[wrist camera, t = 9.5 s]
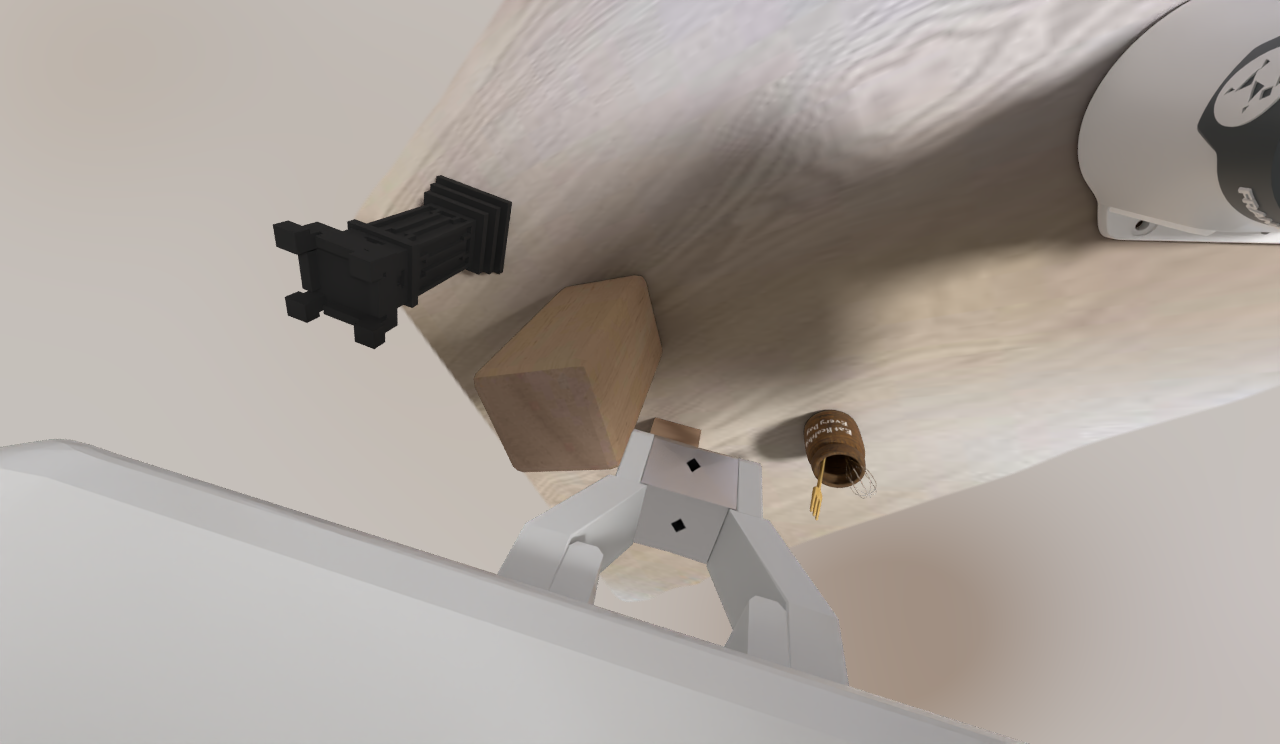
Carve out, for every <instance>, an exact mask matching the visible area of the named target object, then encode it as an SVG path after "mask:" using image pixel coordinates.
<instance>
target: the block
mask: <svg viewBox="0 0 1280 744" xmlns="http://www.w3.org/2000/svg"><path fill="white" fill-rule="evenodd" d="M661 355H662V346H661V342H660V338H659V334H658V330H657V326H656V322H655V317H654V313H653V309H652V305H651V301H650V297H649V293H648V288H647V284H646V282H645V280H644V279H643V277H642V276H636V275H633V276H627V277H622V278H616V279H610V280H604V281H598V282H593V283H587V284H581V285H575V286H569V287H565V288H564V289H562V290H561V291H560V292H559V293H558V294H557V295H556V296H555V297H554V298H553V299H552V300H551V301H550V302H549V303H548V304H547V305H546V306H545V307H544V308H543V309H542V310H540V311H539V312H538V313H537V314H536V315H535V316H534V317H533V318H532V319H531V320H530V321H529V322H528V323H527V324H526V325H525V326H524V327H523V328H522V329H521V330H520V331H519V332H518V333H517V334H516V335H515V336H514V337H513V338H512V339H511V340H510V341H509V342H508V343H507V344H506V345H505V346H504V347H503V348H501V349H500V350H499V351H498V352H497V353H496V354H495V355H494V356H493V357H492V358H491V359H490V360H489V361H488V362H487V363H486V364H485V365H484V366H483V367H482V368H481V369H480V370H479V371H478V372H477V373H476V374H475V377H474V384H475V388H476V390H477V392H478V394H479V396H480V398H481V400H482V403H483V405H484V407H485V409H486V411H487V413H488V415H489V417H490V419H491V421H492V423H493V426H494V428H495V430H496V432H497V434H498V436H499V438H500V440H501V442H502V444H503V446H504V449H505V451H506V453H507V455H508V457H509V459H510V461H511V463H512V465H513V467H514V468H516V469H517V470H518V471H521V472H543V471H573V470H602V469H613V468H615V467H618V466H619V465H620V462H621V460H622V457H623V454H624V452H625V449H626V446H627V444H628V441H629V438H630V436H631V433H632V431H633V430H634V428H635V425H636V422H637V420H638V417H639V414H640V412H641V409H642V406H643V404H644V401H645V398H646V396H647V393H648V390H649V388H650V385H651V382H652V379H653V377H654V374H655V371H656V369H657V366H658V363H659V361H660V358H661Z"/></svg>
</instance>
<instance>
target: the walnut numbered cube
mask: <svg viewBox="0 0 1280 744" xmlns="http://www.w3.org/2000/svg"><path fill="white" fill-rule="evenodd" d="M650 434H654V435H658V436H662V437H665V438H668V439H672V440H675V441H678V442H682V443H685V444H688V445H692V446H695V447H698V445H699V440H700V434H701V430H699V429H696V428H692V427H688V426H685V425H681V424H677V423H674V422H670V421H666V420H663V419H659V418H655V419H654V422H653V425H652V428H651V431H650ZM654 437H655V436H654Z"/></svg>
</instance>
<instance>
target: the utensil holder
mask: <svg viewBox="0 0 1280 744" xmlns="http://www.w3.org/2000/svg"><path fill="white" fill-rule="evenodd" d="M804 441H805V449H806V454H807V458H808V461H809V463H810V464H811V467H812V471H813V473H814V475H815V477H816V478H817V479H818V483H817V487H813V492H812V499H811V506H810V511H811V512H812V511H813V516H815V514H816V517H815V519H816V520H818V516H819V511H820V506H821V501H822V494H821V483H823V484H824V485H827V486H830V487H835V488H843V487H849V486H852V485H853V486H854V484H856V483H857V482H859V481H861V479H862V478H863V476H864V474H865V472H866V471H865V470H867V469H866V464H865V448H864V444H863V441H862V437H861V434H860V431H859V428H858V426H857V424H856V422H855V421H854V420H853V418H851V417H850V416H849V415H847V414H846V413H843V412H840V411H836V410H827V411H822V412H819V413H817V414H815V415H813V416H812V417H811V418H810V419H809V420H808V421H807V423H806V425H805V428H804ZM867 471H868V470H867ZM868 472H869V471H868ZM869 473H870V472H869ZM866 474H867V473H866ZM870 474H871V473H870ZM867 475H868V474H867ZM871 475H872V474H871ZM868 477H869V476H868ZM872 477H873V476H872ZM868 479H869V480H870V478H868ZM873 479H874V478H873ZM874 480H875V479H874ZM875 482H876V481H875ZM861 483H862V481H861ZM871 483H872V482H871V480H870V490H871ZM872 484H873V483H872ZM862 485H863V483H862ZM876 485H877V484H876ZM863 486H864V485H863ZM873 486H874V485H873ZM850 488H851V487H850ZM854 488H856V487H855V486H854ZM864 488H865V487H864ZM874 488H875V487H874ZM856 489H857V488H856ZM856 489H855V490H856ZM851 490H852V489H851ZM865 490H866V488H865ZM875 490H876V488H875ZM852 491H853V490H852ZM856 491H857V490H856ZM859 491H860V490H859ZM866 491H867V490H866ZM861 492H862V491H861ZM873 492H874V491H873ZM857 493H858V492H857ZM863 493H864V492H863ZM867 493H868V492H867ZM867 493H865V494H867ZM871 493H872V492H871ZM871 493H870V491H869V493H868V494H867V495H869V496H870V495H874V494H871ZM855 494H856V493H855ZM875 494H876V493H875ZM856 495H857V494H856ZM858 495H859V494H858ZM859 496H865V495H859ZM861 498H862V497H861ZM870 498H871V497H870ZM863 499H864V498H863ZM813 506H814V508H813Z"/></svg>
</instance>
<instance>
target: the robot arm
mask: <svg viewBox="0 0 1280 744" xmlns="http://www.w3.org/2000/svg"><path fill="white" fill-rule="evenodd" d="M1078 159H1079V165H1080V169H1081V172H1082V175H1083V177H1084V179H1085V181H1086V183H1087V184H1088V186H1089V187H1090V189H1091V190H1092V192H1093V193H1094V195H1095V197H1096V199H1097V202H1098V228H1099V231H1100V233H1101V234H1102V235H1103V236H1105V237H1107V238H1112V239H1117V240H1149V241H1192V242H1235V243H1278V244H1280V0H1191V1H1189V2H1187V3H1185V4H1184V5H1182V6H1180V7H1179V8H1177V9H1176V10H1174V11H1173V12H1171V13H1170V14H1168V15H1167V16H1165V17H1164V18H1163V19H1161V20H1160V21H1159V22H1157V23H1156V24H1155V25H1154V26H1152V27H1151V28H1150V29H1149V30H1147V31H1146V32H1145V33H1144V34H1143V35H1142V36H1141V37H1140V38H1138V39H1137V40H1136V41H1135V42H1134V43H1133V44H1132V45H1131V46H1130V47H1129V48H1128V49H1127V50H1126V51H1125V52H1124V54H1123V55H1122V56H1121V57H1120V58H1119V59H1118V60H1117V62H1116V63H1115V64H1114V65H1113V67H1112V68H1111V69H1110V70H1109V72H1108V73H1107V75H1106V76H1105V77H1104V79H1103V80H1102V82H1101V83H1100V85H1099V87H1098V88H1097V90H1096V92H1095V93H1094V95H1093V97H1092V99H1091V101H1090V103H1089V105H1088V108H1087V110H1086V113H1085V115H1084V118H1083V121H1082V125H1081V129H1080V134H1079V140H1078ZM1141 220H1143V223H1142V224H1141V225H1140V226H1139V227H1137V228H1135V226H1136V224H1137V223H1138V222H1139V221H1141ZM654 436H655V437H654ZM633 542H634V543H638V544H642V545H646V546H649V547H653V548H657V549H660V550H664V551H668V552H671V553H674V554H677V555H680V556H683V557H686V558H689V559H692V560H695V561H698V562H701V563H704V564H707V569H708V571H709V573H710V576H711V578H712V581H713V583H714V586H715V588H716V590H717V593H718V595H719V598H720V600H721V602H722V605H723V607H724V610H725V612H726V614H727V617H728V619H729V622H730V624H731V627H732V629H733V631H732V633H731V635H730V637H729V639H728V641H727V643H726V644H725V646H724V647H723V646H720V645H717V644H714V643H711V642H707V641H704V640H701V639H698V638H695V637H692V636H689V635H686V634H682V633H679V632H676V631H673V630H670V629H667V628H664V627H660V626H657V625H654V624H651V623H648V622H645V621H642V620H638V619H635V618H632V617H629V616H626V615H623V614H620V613H616V612H613V611H610V610H607V609H604V608H601V607H598V606H595V605H594V599H595V595H596V590H597V584H598V580H599V574H600V573H601V572H602V571H603V570H604V569H605V568H606V567H608V566H609V565H610V564H611V563H612V562H613V561H614V560H615V559H617V558H618V557H619V556H620V555H621V554H622V553H623V552H624V551H626V550H627V549H628V548H629V547H630V546H631V545H632V544H633ZM0 744H1029V743H1025V742H1023V741H1019V740H1016V739H1013V738H1010V737H1007V736H1004V735H1001V734H998V733H994V732H991V731H988V730H985V729H982V728H979V727H976V726H972V725H969V724H966V723H963V722H960V721H957V720H953V719H950V718H947V717H944V716H941V715H938V714H934V713H931V712H928V711H925V710H922V709H919V708H915V707H913V706H909V705H906V704H903V703H900V702H897V701H894V700H890V699H887V698H884V697H881V696H878V695H875V694H871V693H869V692H865V691H862V690H859V689H856V688H853V687H850V686H849V683H848V676H847V670H846V664H845V657H844V651H843V645H842V639H841V632H840V626H839V619H838V618H837V616H836V615H835V613H834V612H833V610H832V609H831V608H830V606H829V605H828V603H827V602H826V601H825V599H824V598H823V596H822V595H821V594H820V592H819V591H818V589H817V588H816V586H815V585H814V583H813V582H812V581H811V579H810V578H809V577H808V575H807V573H806V572H805V571H804V569H803V568H802V566H801V565H800V563H799V562H798V561H797V559H796V558H795V556H794V555H793V554H792V552H791V551H790V549H789V548H788V546H787V545H786V543H785V542H784V541H783V539H782V538H781V536H780V535H779V533H778V532H777V531H776V529H775V528H774V526H773V525H772V523H771V522H770V521H769V520H766V519H763V504H762V466H761V464H760V463H757V462H753V461H749V460H745V459H741V458H736V457H732V456H728V455H724V454H721V453H717V452H713V451H709V450H706V449H702V448H698V447H695V446H692V445H688V444H685V443H682V442H678V441H675V440H672V439H668V438H665V437H662V436H658V435H654V434H650V433H647V432H644V431H640V430H637V429H634V430H633V431H632V433H631V436H630V438H629V441H628V444H627V446H626V449H625V452H624V454H623V457H622V460H621V462H620V465H619V468H618V470H617V473H616V475H615V476H613V475H607V476H606V477H604V478H602V479H600V480H599V481H597V482H595V483H594V484H592V485H590V486H588V487H587V488H585V489H583V490H582V491H580V492H578V493H576V494H575V495H573V496H571V497H570V498H568V499H566V500H564V501H563V502H561V503H559V504H558V505H556V506H554V507H552V508H551V509H549V510H547V511H546V512H544V513H542V514H540V515H539V516H537V517H535V518H534V519H532V520H530V521H528V522H527V523H525V525H524V527H523V529H522V531H521V532H520V534H519V536H518V538H517V540H516V541H515V543H514V545H513V547H512V549H511V550H510V552H509V554H508V556H507V558H506V559H505V561H504V563H503V565H502V567H501V569H500V570H499V572H498V574H494V573H491V572H487V571H484V570H481V569H478V568H475V567H472V566H468V565H465V564H462V563H459V562H456V561H453V560H450V559H447V558H443V557H440V556H437V555H434V554H431V553H428V552H425V551H421V550H418V549H415V548H412V547H409V546H405V545H402V544H399V543H396V542H393V541H390V540H387V539H384V538H380V537H377V536H374V535H371V534H368V533H365V532H362V531H358V530H355V529H352V528H349V527H346V526H342V525H339V524H336V523H333V522H330V521H327V520H324V519H321V518H317V517H314V516H311V515H308V514H305V513H302V512H299V511H296V510H292V509H289V508H286V507H283V506H280V505H277V504H273V503H270V502H267V501H264V500H260V499H258V498H254V497H251V496H248V495H245V494H242V493H238V492H236V491H232V490H229V489H226V488H223V487H219V486H216V485H214V484H210V483H207V482H204V481H201V480H197V479H194V478H191V477H188V476H185V475H182V474H179V473H175V472H173V471H169V470H166V469H163V468H160V467H157V466H154V465H150V464H147V463H144V462H140V461H138V460H134V459H131V458H128V457H125V456H122V455H119V454H116V453H113V452H110V451H107V450H105V449H102V448H98V447H96V446H93V445H90V444H86V443H82V442H78V441H74V440H64V439H49V440H42V441H36V442H29V443H23V444H17V445H10V446H4V447H0Z"/></svg>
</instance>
